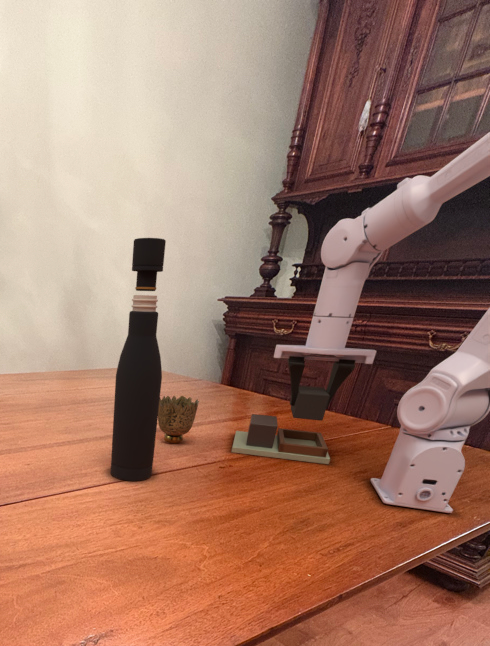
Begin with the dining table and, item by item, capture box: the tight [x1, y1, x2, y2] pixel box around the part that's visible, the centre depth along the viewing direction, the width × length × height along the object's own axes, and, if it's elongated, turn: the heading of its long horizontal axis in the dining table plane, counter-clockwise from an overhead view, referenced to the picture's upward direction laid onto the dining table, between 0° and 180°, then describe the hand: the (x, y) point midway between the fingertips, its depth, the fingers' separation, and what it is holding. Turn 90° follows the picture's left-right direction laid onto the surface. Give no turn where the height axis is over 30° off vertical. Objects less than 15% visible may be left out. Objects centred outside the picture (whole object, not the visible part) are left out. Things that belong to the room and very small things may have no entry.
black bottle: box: [110, 237, 167, 482], centre depth 59 cm, size 6×6×30 cm
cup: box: [157, 395, 200, 445], centre depth 80 cm, size 8×7×8 cm
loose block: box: [290, 385, 330, 422], centre depth 73 cm, size 8×4×4 cm, turn 160°
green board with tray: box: [231, 413, 331, 465], centre depth 78 cm, size 12×16×5 cm
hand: (308, 405), depth 73 cm, fingers closed on loose block, 4 cm apart
